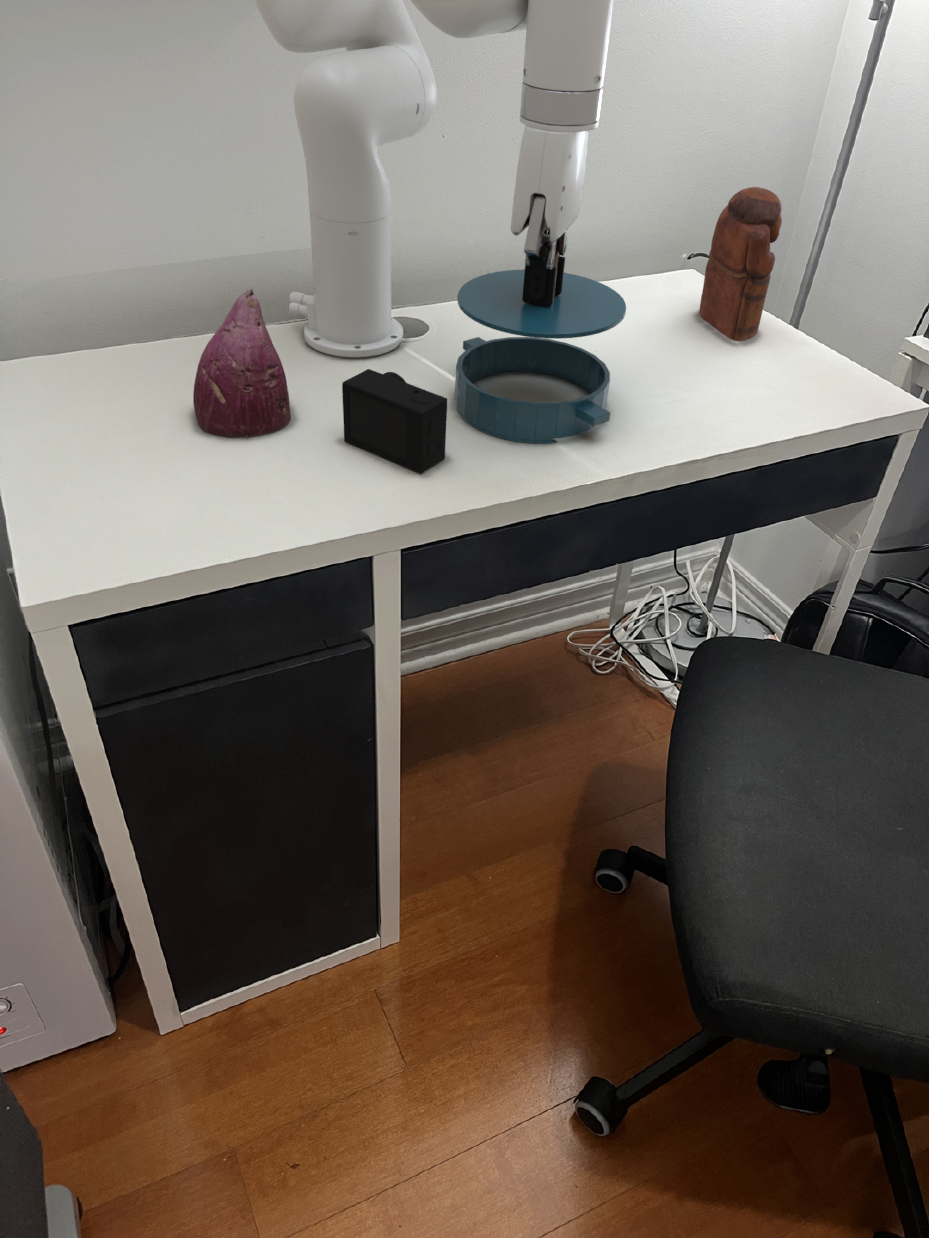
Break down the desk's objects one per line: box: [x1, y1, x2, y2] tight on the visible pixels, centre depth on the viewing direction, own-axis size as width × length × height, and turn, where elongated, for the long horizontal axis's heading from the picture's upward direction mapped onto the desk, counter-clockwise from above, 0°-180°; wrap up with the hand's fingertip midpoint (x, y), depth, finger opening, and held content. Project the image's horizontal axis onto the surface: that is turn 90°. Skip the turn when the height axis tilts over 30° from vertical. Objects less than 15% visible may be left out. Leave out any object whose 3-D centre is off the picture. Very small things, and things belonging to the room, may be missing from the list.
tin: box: [453, 336, 611, 444], centre depth 107 cm, size 17×23×5 cm
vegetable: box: [192, 287, 292, 439], centre depth 101 cm, size 10×10×15 cm
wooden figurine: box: [698, 186, 783, 342], centre depth 124 cm, size 12×6×18 cm, turn 19°
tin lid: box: [456, 248, 627, 340], centre depth 100 cm, size 18×18×6 cm
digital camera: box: [341, 368, 448, 475], centre depth 98 cm, size 10×5×7 cm, turn 55°
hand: (542, 297), depth 101 cm, fingers closed on tin lid, 2 cm apart
